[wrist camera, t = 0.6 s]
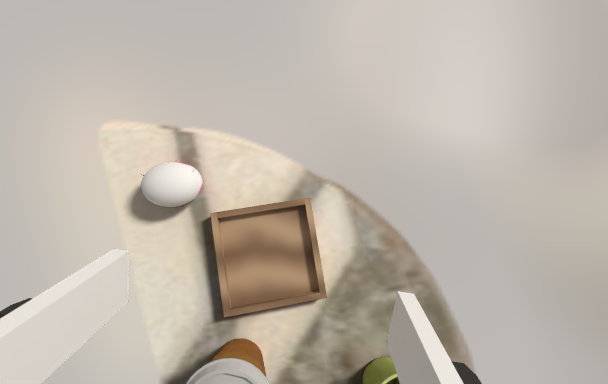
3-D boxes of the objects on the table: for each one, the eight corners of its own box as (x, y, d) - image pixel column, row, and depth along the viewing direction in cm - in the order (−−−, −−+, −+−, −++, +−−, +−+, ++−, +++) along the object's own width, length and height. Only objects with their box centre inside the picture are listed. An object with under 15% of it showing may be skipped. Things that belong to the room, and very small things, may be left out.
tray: (324, 294, 43) (326, 297, 41) (226, 312, 42) (224, 317, 39) (308, 199, 44) (310, 197, 42) (213, 214, 43) (210, 213, 41)
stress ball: (208, 175, 47) (199, 141, 42) (207, 216, 42) (196, 183, 37) (157, 180, 46) (141, 146, 41) (148, 223, 41) (129, 190, 36)
